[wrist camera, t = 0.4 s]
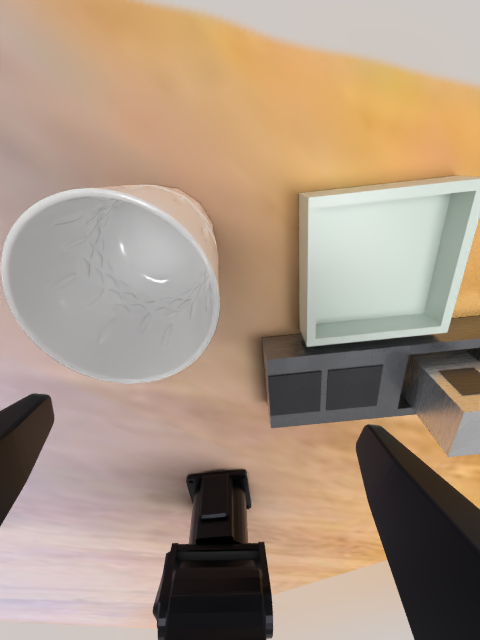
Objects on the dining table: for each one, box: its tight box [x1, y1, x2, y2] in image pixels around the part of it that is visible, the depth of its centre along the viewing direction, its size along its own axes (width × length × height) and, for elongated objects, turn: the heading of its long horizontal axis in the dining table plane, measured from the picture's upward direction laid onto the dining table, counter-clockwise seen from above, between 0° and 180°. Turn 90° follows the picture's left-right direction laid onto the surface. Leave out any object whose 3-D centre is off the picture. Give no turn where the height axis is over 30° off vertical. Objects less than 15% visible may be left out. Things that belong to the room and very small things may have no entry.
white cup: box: [1, 185, 220, 384], centre depth 15 cm, size 8×8×10 cm
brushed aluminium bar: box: [401, 349, 480, 457], centre depth 22 cm, size 4×4×8 cm
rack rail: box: [262, 316, 480, 428], centre depth 24 cm, size 7×20×3 cm, turn 96°
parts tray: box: [299, 175, 480, 347], centre depth 20 cm, size 10×10×3 cm
